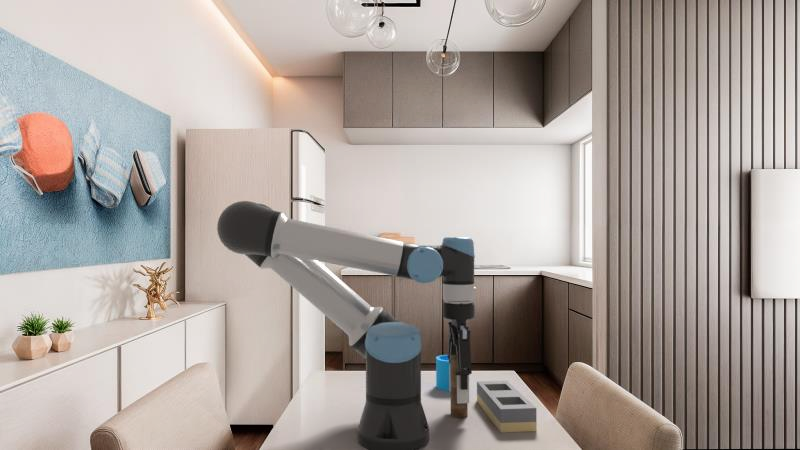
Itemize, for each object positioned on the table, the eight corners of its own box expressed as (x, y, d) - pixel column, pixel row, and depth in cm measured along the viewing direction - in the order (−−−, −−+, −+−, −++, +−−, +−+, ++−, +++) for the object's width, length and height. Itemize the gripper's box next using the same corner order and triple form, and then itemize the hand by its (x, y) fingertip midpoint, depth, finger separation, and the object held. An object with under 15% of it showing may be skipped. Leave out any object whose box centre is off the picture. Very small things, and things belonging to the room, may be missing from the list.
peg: (458, 419, 123) (458, 358, 124) (447, 414, 127) (447, 355, 127) (471, 415, 126) (470, 356, 126) (459, 411, 129) (459, 353, 129)
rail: (536, 431, 116) (536, 408, 116) (500, 432, 115) (500, 409, 115) (507, 400, 138) (507, 380, 138) (476, 400, 137) (476, 381, 137)
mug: (467, 390, 146) (467, 361, 146) (438, 391, 146) (438, 361, 146) (460, 379, 158) (460, 351, 158) (433, 379, 158) (432, 352, 158)
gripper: (485, 307, 116) (485, 410, 116) (464, 296, 138) (464, 383, 137) (451, 307, 116) (451, 412, 115) (436, 296, 137) (436, 384, 137)
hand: (459, 396), depth 126 cm, fingers open, 9 cm apart
